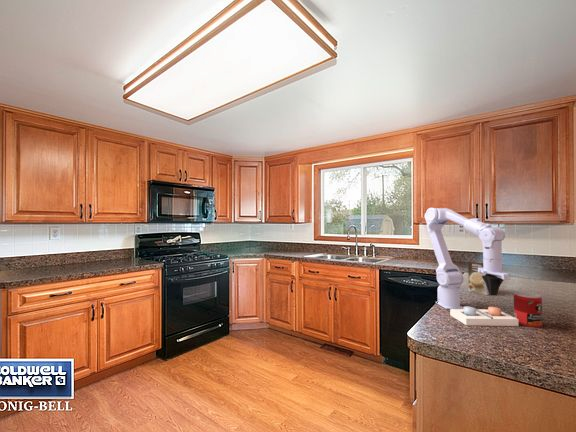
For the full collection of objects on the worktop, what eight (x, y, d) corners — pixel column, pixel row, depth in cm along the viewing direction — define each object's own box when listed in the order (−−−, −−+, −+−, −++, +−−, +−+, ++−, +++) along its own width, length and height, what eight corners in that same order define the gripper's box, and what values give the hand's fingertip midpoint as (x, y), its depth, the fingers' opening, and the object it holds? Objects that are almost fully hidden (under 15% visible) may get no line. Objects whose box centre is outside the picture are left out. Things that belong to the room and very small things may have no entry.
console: (450, 315, 111) (450, 307, 112) (497, 315, 111) (496, 308, 111) (466, 325, 100) (466, 316, 101) (518, 326, 100) (518, 317, 100)
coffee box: (467, 291, 148) (467, 261, 149) (474, 290, 152) (473, 260, 152) (487, 295, 141) (486, 263, 141) (493, 293, 144) (492, 262, 144)
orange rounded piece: (485, 315, 107) (485, 306, 107) (496, 315, 107) (496, 306, 107) (492, 319, 103) (492, 309, 103) (504, 319, 103) (503, 309, 103)
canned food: (531, 328, 97) (530, 296, 97) (508, 320, 105) (508, 291, 105) (548, 326, 99) (547, 295, 99) (524, 318, 107) (524, 290, 107)
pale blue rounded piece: (461, 315, 108) (461, 306, 108) (472, 315, 108) (472, 306, 108) (467, 319, 104) (467, 309, 104) (478, 319, 104) (478, 309, 104)
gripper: (469, 256, 113) (470, 290, 113) (494, 261, 99) (495, 300, 99) (487, 256, 113) (488, 290, 113) (515, 261, 99) (516, 300, 98)
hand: (493, 295), depth 106 cm, fingers closed
